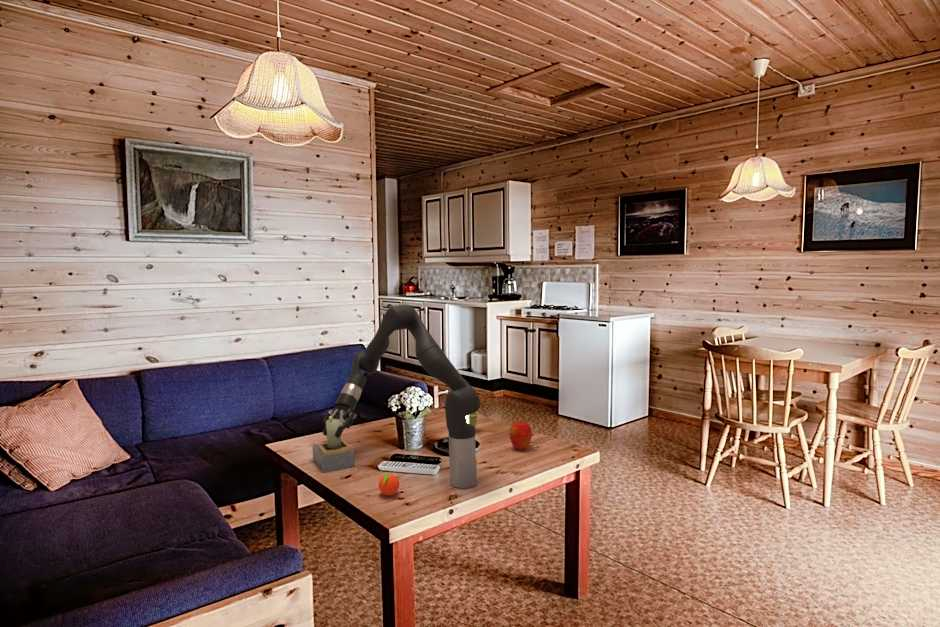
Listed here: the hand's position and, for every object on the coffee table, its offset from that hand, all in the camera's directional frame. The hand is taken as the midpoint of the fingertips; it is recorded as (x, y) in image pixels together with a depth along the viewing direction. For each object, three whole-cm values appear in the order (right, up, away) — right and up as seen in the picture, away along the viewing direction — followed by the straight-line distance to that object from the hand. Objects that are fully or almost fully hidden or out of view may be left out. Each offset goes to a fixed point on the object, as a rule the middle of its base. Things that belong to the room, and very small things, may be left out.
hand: (330, 435), depth 216 cm
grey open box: (0, -11, +5) cm, 12 cm away
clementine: (+26, -15, -26) cm, 39 cm away
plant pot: (+52, -7, +38) cm, 65 cm away
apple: (+73, -9, +16) cm, 76 cm away
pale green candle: (+1, -4, +2) cm, 5 cm away
